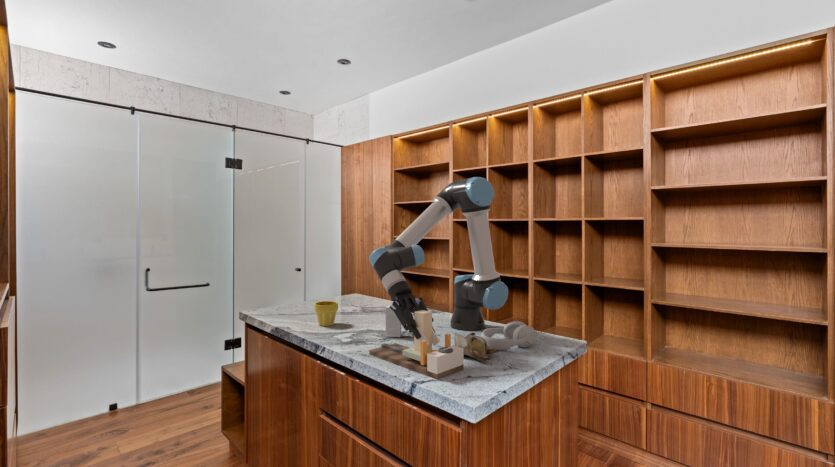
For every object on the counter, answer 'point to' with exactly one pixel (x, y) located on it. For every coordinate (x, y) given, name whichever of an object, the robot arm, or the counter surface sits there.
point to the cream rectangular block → (444, 359)
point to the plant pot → (326, 312)
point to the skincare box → (392, 323)
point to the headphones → (510, 336)
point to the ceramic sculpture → (474, 346)
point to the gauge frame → (424, 351)
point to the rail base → (407, 360)
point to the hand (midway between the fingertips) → (431, 344)
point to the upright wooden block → (425, 323)
